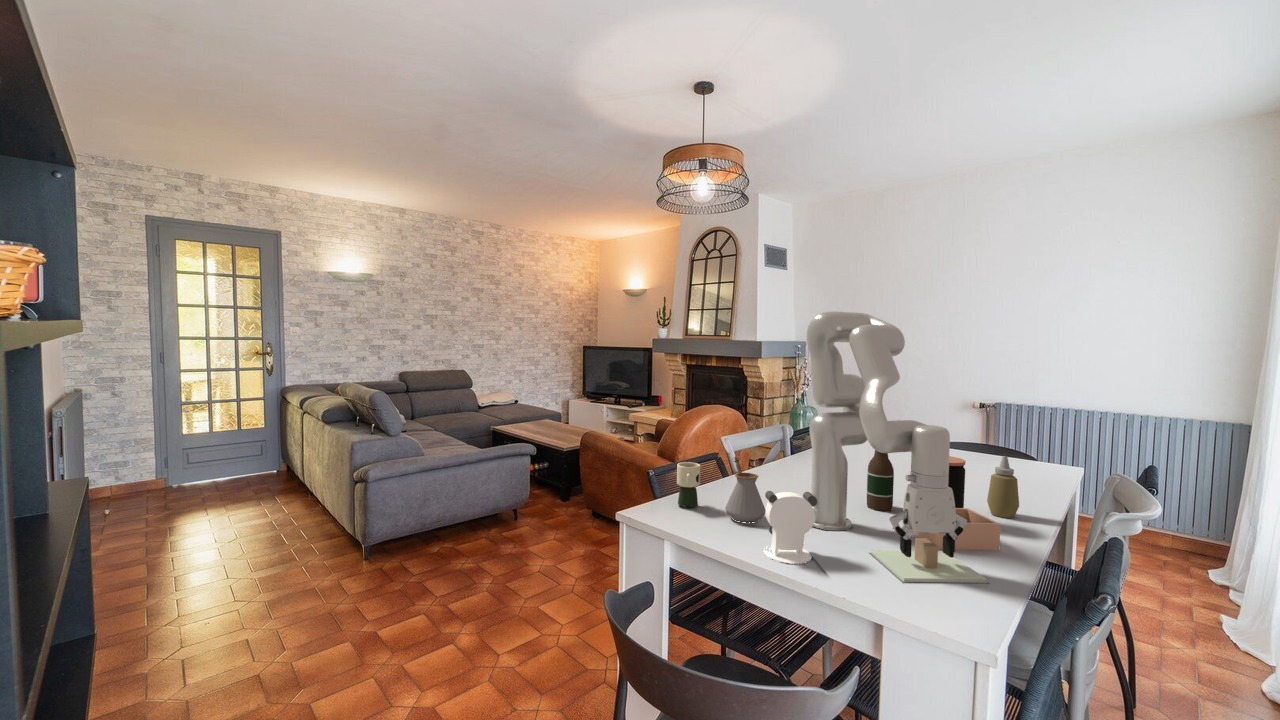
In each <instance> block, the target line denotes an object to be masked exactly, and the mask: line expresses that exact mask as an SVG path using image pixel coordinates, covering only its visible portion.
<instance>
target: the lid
mask: <svg viewBox="0 0 1280 720" xmlns="http://www.w3.org/2000/svg"><path fill="white" fill-rule="evenodd" d="M870 553H871V554H872V555H874V556H875V557H876V558H877V559H878V560H879V561H880V562H882V563H883V564H884V565H885V566H886V567H887V568H888V569H890V570H891V571H892V572H893V573H894V574H895V575H896V576H898V577H899V578H900V579H901V580H902V581H903V582H975V583H987V582H988V579H987V577H984V576H983V575H982V574H980V573H979V572H977V571H975V569H972V567H969V566H968V565H966V564H965V563H964V562H962V561H961V560H959V559H958V558H957V557H955V556H954V557H949V556H948V555H946V554H945V553H943V550H939V549H938V546H937V545H935V544H934V543H932V542H931V541H929V540H928V539H926V538H920V537H915V542H914V550H911V557H907V556H905V555H904V554H903V553H902V552H901V550H889V549H888V550H881V549H879V550H878V549H877V550H876V549H872V550H871V551H870Z"/></svg>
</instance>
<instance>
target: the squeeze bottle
mask: <svg viewBox="0 0 1280 720" xmlns="http://www.w3.org/2000/svg"><path fill="white" fill-rule="evenodd" d="M1009 463H1010V462H1009V458H1008V456H1005V455H1003V456H1002V458H1001V461H1000V463H999V466H995V468H994V473H993V474H991V476H990V482H989V487H988V494H987V499H986V502H987V505H988V507H989V511H990V514H991V515H993V516H997V517H1000V518H1005V519H1011V518H1012V519H1013V518H1014V517H1015V515H1016V514H1017V512H1018V509H1019V508H1020V500H1019V499H1020V497H1019V485H1018V478H1017V477H1016V476H1014V473H1015V470H1014V469H1013V468H1011V467H1010V464H1009Z"/></svg>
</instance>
